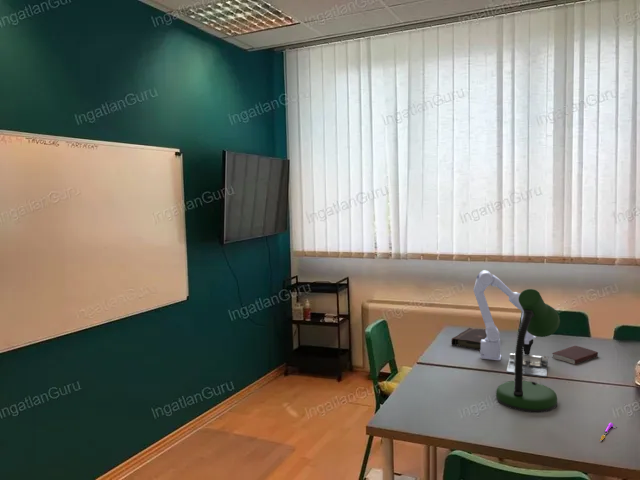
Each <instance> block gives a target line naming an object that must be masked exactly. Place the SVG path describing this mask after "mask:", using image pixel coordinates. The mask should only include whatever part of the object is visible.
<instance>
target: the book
mask: <svg viewBox="0 0 640 480" xmlns="http://www.w3.org/2000/svg"><path fill="white" fill-rule="evenodd" d="M598 355H599V352H598V351H595V350H592V349H589V348H587V347H583V346H578V345H572V346H570V347H567V348H564V349H560V350H558V351H554V352H552V357H551V358H552V359H556V360H560V361H563V362H566V363H569V364H572V365H577V364H580V363H582V362H586V361H589V360H592V359H594V357H595V358H598ZM588 359H589V360H588Z"/></svg>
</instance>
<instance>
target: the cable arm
mask: <svg viewBox="0 0 640 480" xmlns="http://www.w3.org/2000/svg"><path fill="white" fill-rule="evenodd" d="M509 358H510V359H511V360H515V352H514V353H509ZM523 361H530V362H540V363H547V364H548V363H549V357H548V356H546V355H542V356H541V355H533V354H529V355H526V354H524V353H523Z"/></svg>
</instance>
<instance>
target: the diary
mask: <svg viewBox="0 0 640 480" xmlns="http://www.w3.org/2000/svg"><path fill="white" fill-rule="evenodd" d="M486 337H487V334H486V328H476V327H475V328H474V327H468V328H467V329H465V330H464V331H462V332H460V333H458V334H457V335H456V336H454V337H452V338H451V342H450V343H451V346H454V345H455V346H459V347H464V348H467V349H472V350H476V351H477V350H478V351H480V350H481V339H485V338H486Z"/></svg>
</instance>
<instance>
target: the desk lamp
mask: <svg viewBox="0 0 640 480" xmlns="http://www.w3.org/2000/svg"><path fill="white" fill-rule="evenodd" d="M520 293H521V294H520V295H519V303H520V305H521V307H522V308H523V310H524V316H523V319H522V321H520V325H519V327H518V331H517V334H516V342H515V346H514V347H515V348H514V354H515V370H514V371H515V372H514V373H515V374H513V375H514V380H511V381H507V382H506V381H505V382H503V383H501V384H500V385H498V387H497V389H496V391H495V394H496V395H495V399H496V401H497V402H498V403H499V404H501V405H503V406H505V407H507V408H510V409H513V410H516V411H520V412H526V413H536V414H537V413H546V412H550V411H552V410H555V408H556V407H557V406H558V397H557V394H556V392H555V391H554V390H553V388H550V387H548V386H547V385H544V384H541V383H538V382H536V381H528V380H524V378H523V377H524V375H523V354H524V348H523V347H524V346H523V345H524V344H523V343H525V342H524V341H525V340H524V339H525V338H524V337H526V332H527V331H528V332H529V333H530V334H532V335H533V336H536V338H537V337H540V338H546V337H549V336H551V335H553V334H555V332H557V330H558V329H559V327H560V323H561V319H560V315H559V314H558V312H557V310H556V309H555V308H554V307H552V306H551V305H549V304H548V303H545V301H544V299H543V297H542V295H541V293H540V292H539V291H538V290H537V289H533V288H526V289H525V290H523V291H521V292H520Z"/></svg>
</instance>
